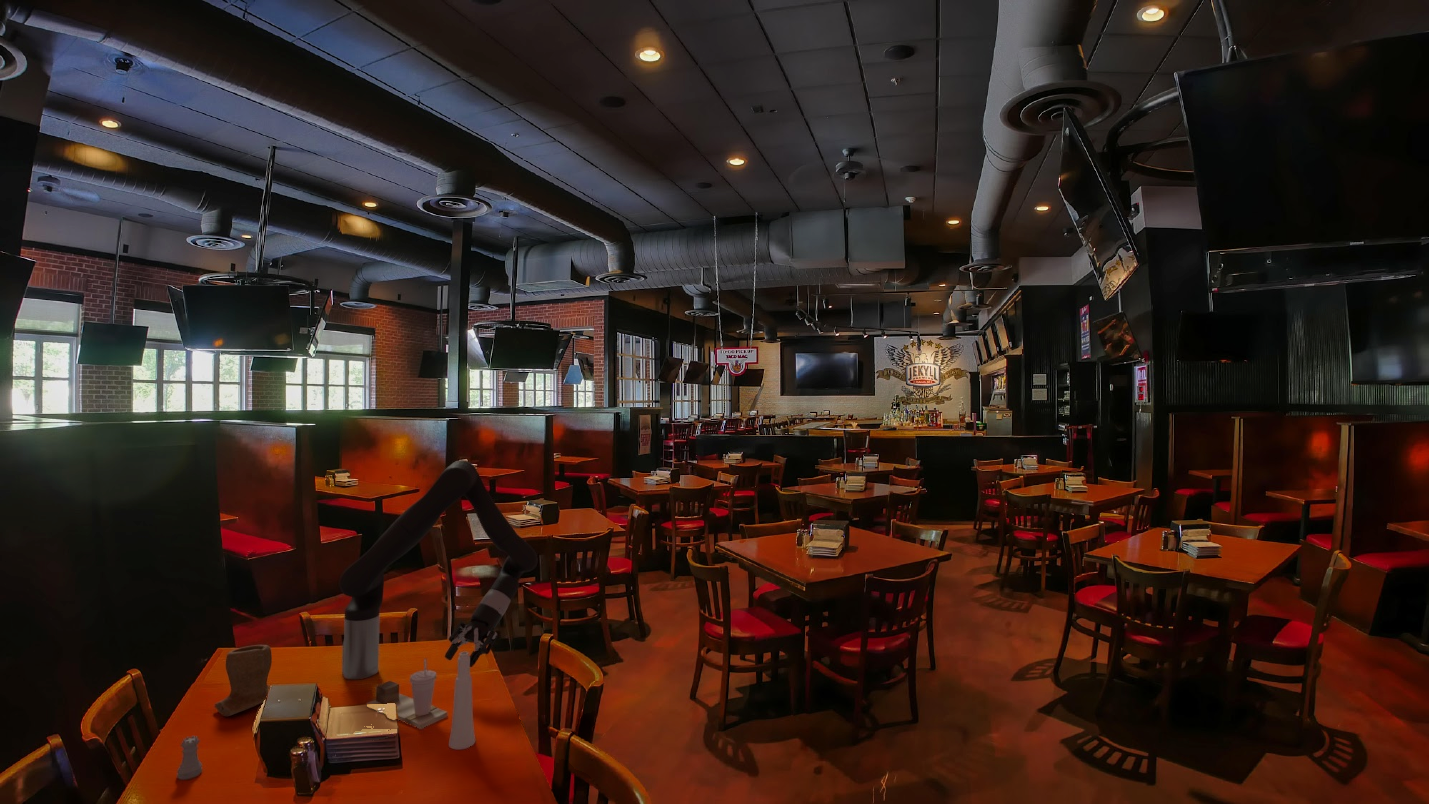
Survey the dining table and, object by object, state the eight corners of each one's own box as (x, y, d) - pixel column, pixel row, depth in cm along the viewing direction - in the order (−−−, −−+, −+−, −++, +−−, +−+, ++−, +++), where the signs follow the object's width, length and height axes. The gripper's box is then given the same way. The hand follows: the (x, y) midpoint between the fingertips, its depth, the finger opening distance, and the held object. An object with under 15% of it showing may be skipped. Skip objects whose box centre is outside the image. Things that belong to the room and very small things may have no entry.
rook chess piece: (186, 769, 148) (186, 733, 148) (207, 769, 148) (208, 733, 148) (171, 781, 143) (172, 744, 143) (193, 780, 144) (194, 743, 144)
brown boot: (257, 689, 187) (258, 636, 187) (288, 697, 183) (289, 642, 183) (199, 713, 173) (200, 655, 173) (231, 722, 169) (232, 663, 169)
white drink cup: (425, 719, 170) (427, 664, 170) (403, 716, 171) (404, 662, 171) (441, 708, 176) (442, 655, 176) (419, 705, 177) (420, 652, 177)
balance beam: (363, 708, 178) (364, 689, 178) (396, 694, 186) (396, 676, 186) (417, 730, 167) (418, 710, 167) (449, 715, 175) (450, 695, 175)
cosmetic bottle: (445, 741, 162) (447, 651, 162) (470, 734, 166) (472, 646, 166) (452, 752, 157) (454, 660, 157) (478, 745, 161) (480, 654, 161)
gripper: (467, 598, 194) (432, 650, 184) (501, 607, 187) (467, 661, 177) (481, 611, 199) (448, 663, 189) (515, 620, 192) (483, 674, 182)
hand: (457, 662), depth 183 cm, fingers open, 8 cm apart
